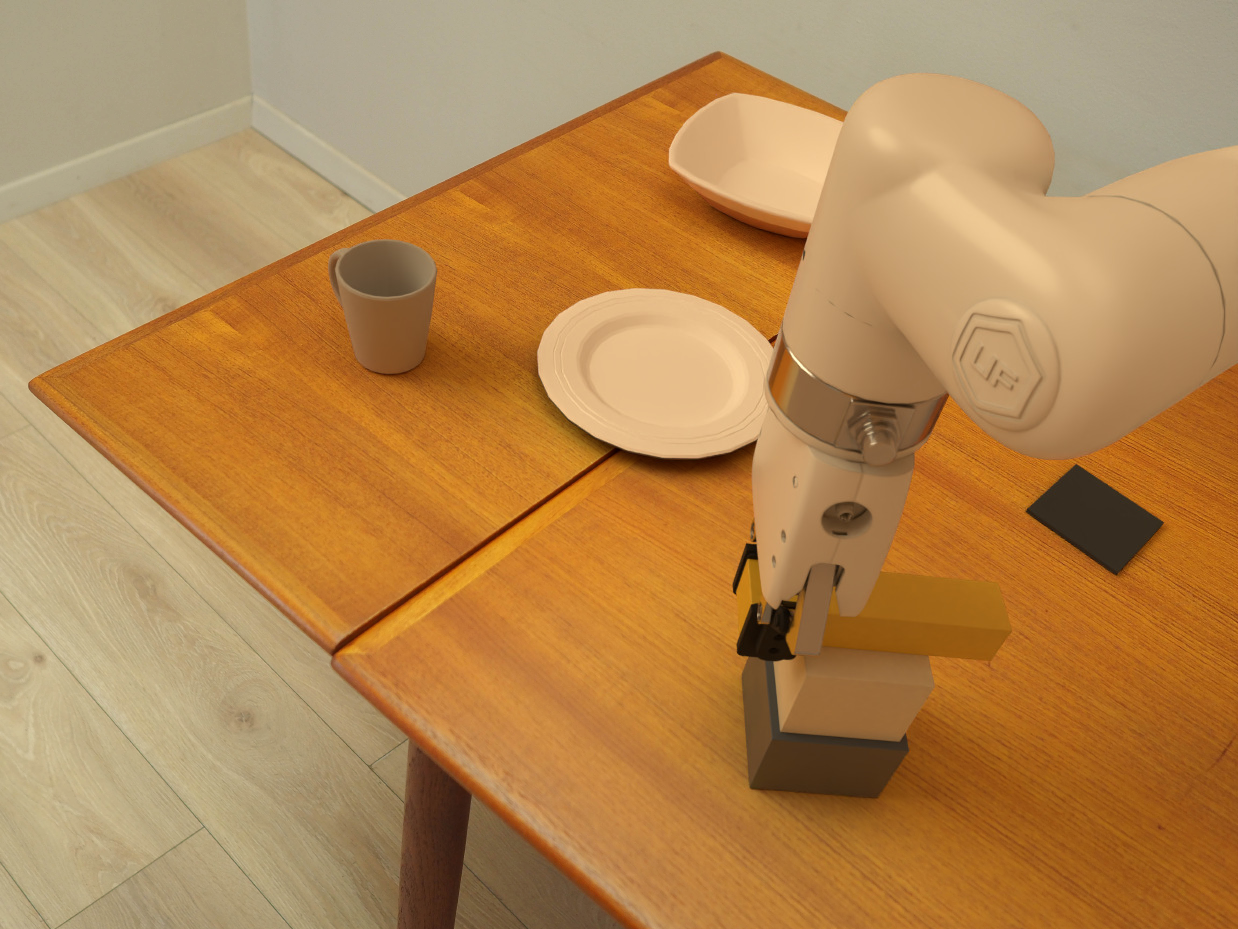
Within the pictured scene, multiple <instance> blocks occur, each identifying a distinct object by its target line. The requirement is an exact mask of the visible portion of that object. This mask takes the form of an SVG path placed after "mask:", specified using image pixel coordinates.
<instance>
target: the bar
mask: <svg viewBox="0 0 1238 929" xmlns="http://www.w3.org/2000/svg"><path fill="white" fill-rule="evenodd" d="M835 589H836V587H834V586H833V591H832V596H831V601H830V606H829V611H828V616H827V621H826V626H825V632H824V637H823V642H822V646H826V647H837V648H848V649H860V650H871V651H882V652H893V653H904V654H915V655H927V656H929V657H939V658H950V659H962V660H973V661H983V662H992V660H993V659H994V657H995V656H996V655H997V653H998V652H999V651H1000V649H1001V647H1002V646H1003V645H1004V643H1005V642H1006V641H1007V639H1008V637H1010V634H1011V633H1012V631H1013V629H1012V626H1011V621H1010V618H1009V614H1008V611H1007V608H1006V604H1005V600H1004V597H1003V594H1002V589H1001V587H1000V584H999V582H997V581H996V582H995V581H986V580H977V579H976V580H975V579H965V578H954V577H945V576H933V575H924V574H912V573H901V572H893V571H891V572H890V571H882V570H881V572H880V574H879V576H878V579H877V581H876V584H875V586H874V588H873V590H872V593H871V595H870V597H869V599H868V601H867V603H866V605H865V607H864V608H863V610H862V611H861V612H860V613H859V614H858V615H857V616H856V617H847V616H840V613H839V608H838V602H837V597H836V591H835ZM761 594H762V587H761V580H760V571H759V562H758V560H754V559H748V560H747V562H746V565H745V568H744V571H743V574H742V576H741V579H740V582H739V585H738V588H737V591H736V595H737V596H736V595H735V596H736V606H737V622H738V637H739V636H740V633H741V630H742V627H743V625H744V622H745V619H746V617H747V614H748V611H749V608H750V606H751V604H755V603H759V600H760V597H761ZM797 598H798V595H795V596H794V597H792V598H791V599H790V600H788V601H794V602H797ZM783 601H786V600H783Z"/></svg>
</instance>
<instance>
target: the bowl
mask: <svg viewBox="0 0 1238 929" xmlns="http://www.w3.org/2000/svg"><path fill="white" fill-rule="evenodd" d="M843 123H844V121H842V120H839V119H836V118H834V117H831V116H829V115H826V114H823V113H821V112H819V111H815V110H812V109H808V108H805V107H802V106H798V105H795V104H792V103H789V102H785V101H780V100H778V99H777V100H776V99H772V98H768V97H765V96H761V95H755V94H748V93H742V92H731V93H729V94H726V95H724V96H723V95H722V96H721V97H718V98H715V99H713V100H712V101H711V102H709V103H707V104H705V105H704V106H702V107H700V108H699V109H698V110H697V111H696V112H695V113H694V114H692V115H691V116H690V117H689V118H688V119H686V120H685V122H684V123H683V125H682V126H681V127H680V128H679V129H678V131H677V132H676V134H675V136H674V138H673V140H672V142H671V144H670V146H669V148H668V149H669V150H668V166H669V168H670V169H671V170H672V171H673V172H675V174H677V175H678V176H679V178H680V179H682V180H683V181H684V182H685V183H686V184H687V185H688V186H689V187H690V188H691V189H693V190H694V191H695V193H697V195H698V194H699V196H700V197H701V198H702V199H703V200H704V201H705V202H707V204H708V205H710V206H711V207H712V208H714V209H715V210H717V211H719V212H721V213H723V214H725V215H727V216H729V217H731V218H733V219H734V220H737V221H739V222H741V223H744V224H745V225H747V226H748V225H749V226H751V227H754V228H757V229H759V230H763V231H765V232H770V233H774V234H778V235H782V236H786V237H790V238H797V239H807V238H808V234H809V231H810V228H811V225H812V221H813V218H814V215H815V211H816V208H817V205H818V201H819V198H820V195H821V192H822V188H823V185H824V182H825V178H826V175H827V172H828V169H829V165H830V162H831V159H832V155H833V152H834V149H835V146H836V142H837V139H838V136H839V134H840V131H841V128H842V125H843Z"/></svg>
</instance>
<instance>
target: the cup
mask: <svg viewBox="0 0 1238 929" xmlns="http://www.w3.org/2000/svg"><path fill="white" fill-rule="evenodd" d="M327 269H328V277H329V281H330V285H331V288H332V291H333V293H334V296H335V298H336V299H337V301H338V303H339V305H340V307H341V308H342V310H343V315H344V319H345V322H346V326H347V330H348V334H349V338H350V342H351V345H352V346H351V347H352V349H353V353H354V357H355V358H356V360H357V362H358V363H359V364H360V365H361V366H362V367H363V368H365V369H368V371H371V372H374V373H379V374H384V375H385V374H386V375H396V374H402V373H405V372H409V371H411V370H412V369H415V368H416V367H418V366H419V365H420V364H421V363H422V362H423V360H424V358H425V357H426V356H425V355H426V351H427V343H428V339H429V333H430V326H431V321H432V315H433V308H434V300H435V292H436V284H437V276H438V268H437V264H436V261H435V260H434V259H433V257H432V256H431V255H430V254H429V252H427V251H426V250H424V249H423V248H422V247H420V246H418V245H415V244H414V243H411V242H407V241H403V240H399V239H388V238H383V239H372V240H368V241H363V242H360V243H357V244H355V245H354V246H351V247H343V248H339V249H337V250H335V251H334V252H333V253H331V254H330V255H329V258H328V264H327Z"/></svg>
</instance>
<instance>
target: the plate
mask: <svg viewBox="0 0 1238 929" xmlns="http://www.w3.org/2000/svg"><path fill="white" fill-rule="evenodd" d="M773 350H774V347H773V346H772V344H771V343H770V341H769V340H768V339H767V338H766V337H765V336H764V335H763V334H762V333H761V332H760V331H759V330H758V329H757V328H756V327H755V326H753V325H752V324H751V323H750V322H749V321H748V320H746V319H745V318H743V317H741V316H740V315H738V314H736V313H735V312H732V311H731V310H730V309H728V308H726V307H724V306H723V305H720V304H717V303H715V302H713V301H710V300H707V299H704V298H701V297H699V296H696V295H693V294H689V293H683V292H679V291H674V290H671V289H670V290H669V289H663V288H641V287H640V288H638V287H634V288H633V287H632V288H626V289H619V290H618V289H617V290H610V291H604V292H601V293H599V294H595V295H592V296H590V297H587V298H584V299H581V300H579V301H577V302H575V303H574V304H572V305H571V306H569V307H568V308H566V309H564V310H563V311H561V312H560V313H558V314H557V315H556V317H554V319H553V320H552V322H551V323H550V324H549V325H548V326H547V328H546V329H545V330H544V331H543V334H542V337H541V340H540V343H539V346H538V348H537V351H536V356H537V371H538V378H539V380H540V382H541V384H542V387H543V389H544V391H545V393H546V396H547V397H548V399H549V401H550V402H551V403H552V404H553V405H554V406H555V407H556V408H557V410H558V411H559V412H560V413H561V414H562V415H563V416H564V418H566V419H567V421H569V422H570V423H571V424H573V425H574V426H576V427H577V428H579V429H580V430H582V431H583V432H585V433H586V434H588V435H589V436H591V437H592V438H594V439H595V440H597V441H600V442H603V443H604V444H607V445H609V446H612V447H615V448H616V449H619V450H622V451H624V452H626V453H630V454H636V455H640V456H645V457H650V458H654V459H660V460H684V461H685V460H688V461H689V460H690V461H694V460H695V461H698V460H699V461H700V460H703V459H708V458H713V457H719V456H725V455H729V454H732V453H734V452H736V451H739V450H740V449H742V448H745V447H747V446H749V445H751V444H753V443H755V442H756V443H757V441H758V437H759V434H760V430H761V427H762V424H763V421H764V418H765V415H766V412H767V409H768V407H769V405H768V402H767V400H766V397H765V390H764V381H765V376H766V373H767V370H768V367H769V363H770V359H771V356H772V353H773Z"/></svg>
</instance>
